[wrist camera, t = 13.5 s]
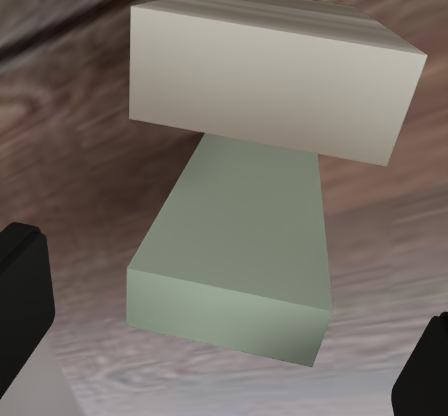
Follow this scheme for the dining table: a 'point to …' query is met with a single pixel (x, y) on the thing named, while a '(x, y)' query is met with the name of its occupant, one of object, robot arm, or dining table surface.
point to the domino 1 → (273, 74)
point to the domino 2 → (238, 254)
